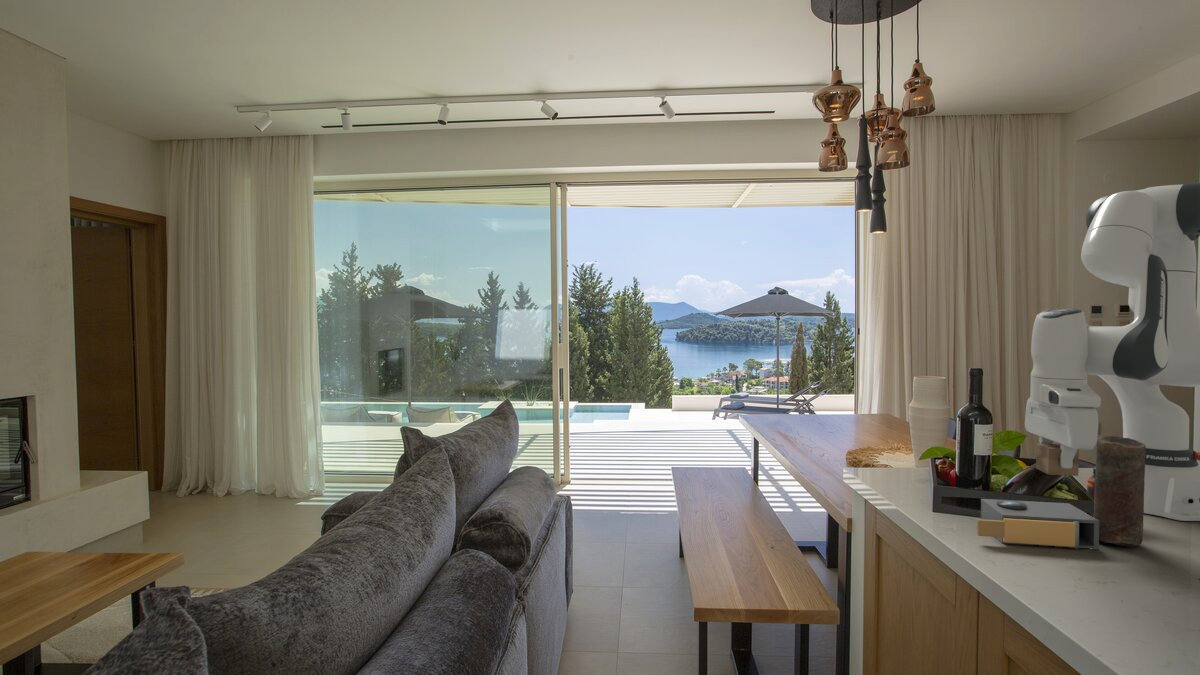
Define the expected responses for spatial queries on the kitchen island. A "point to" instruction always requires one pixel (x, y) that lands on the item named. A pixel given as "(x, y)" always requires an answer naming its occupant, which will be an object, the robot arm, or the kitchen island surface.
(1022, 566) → the kitchen island surface
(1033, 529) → the side door
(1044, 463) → the walnut block
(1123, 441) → the candle
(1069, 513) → the grey box
